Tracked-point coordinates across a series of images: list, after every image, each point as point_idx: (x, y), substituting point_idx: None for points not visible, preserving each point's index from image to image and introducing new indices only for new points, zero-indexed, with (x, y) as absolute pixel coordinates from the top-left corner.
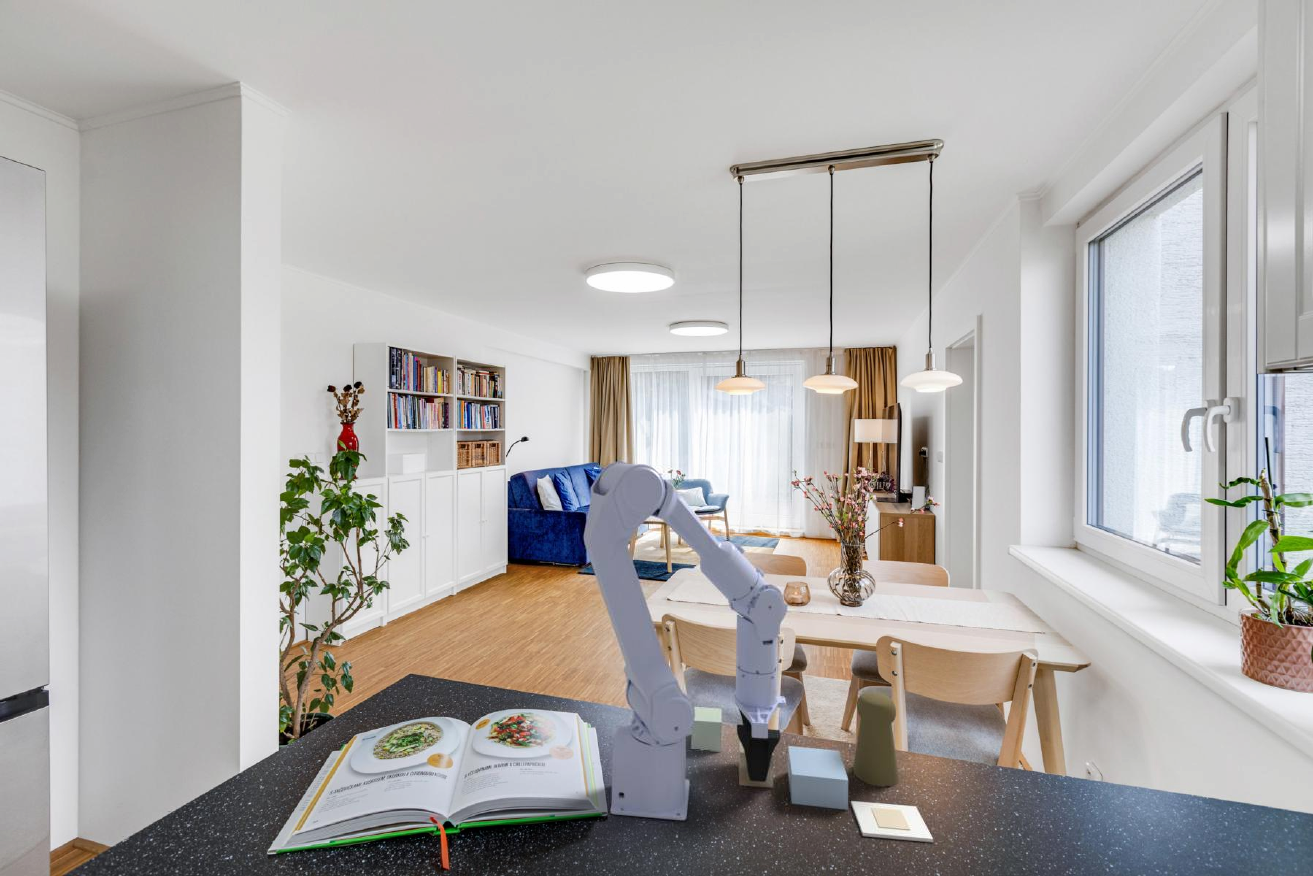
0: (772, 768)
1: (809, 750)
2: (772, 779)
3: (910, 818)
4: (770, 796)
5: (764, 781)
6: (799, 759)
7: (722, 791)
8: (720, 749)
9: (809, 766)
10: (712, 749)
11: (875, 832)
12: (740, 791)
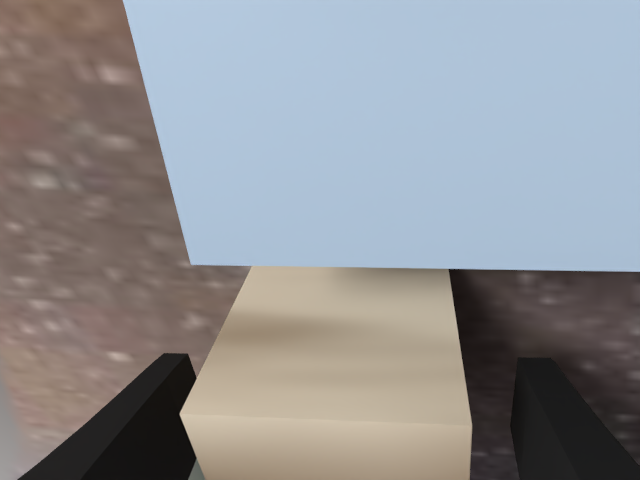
0: (458, 342)
1: (191, 51)
2: (450, 291)
3: None
4: (540, 276)
5: (557, 365)
6: (422, 179)
7: (509, 458)
8: None
9: (580, 72)
10: (198, 477)
11: None
12: (502, 399)
